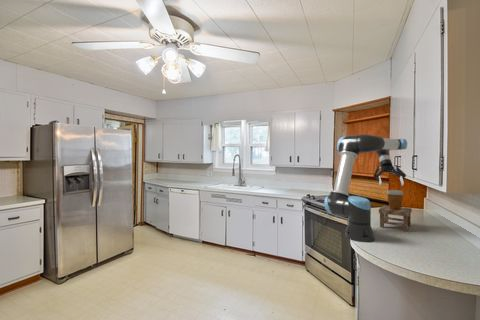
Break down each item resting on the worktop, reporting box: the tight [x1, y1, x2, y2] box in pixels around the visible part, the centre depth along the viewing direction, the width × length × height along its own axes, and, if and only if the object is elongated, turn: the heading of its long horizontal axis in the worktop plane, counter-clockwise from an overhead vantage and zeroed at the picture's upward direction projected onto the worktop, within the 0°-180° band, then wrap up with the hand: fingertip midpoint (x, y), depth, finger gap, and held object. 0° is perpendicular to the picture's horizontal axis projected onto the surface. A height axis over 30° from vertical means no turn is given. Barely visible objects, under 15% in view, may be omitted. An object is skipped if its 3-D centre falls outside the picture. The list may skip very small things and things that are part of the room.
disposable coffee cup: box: [386, 189, 404, 210], centre depth 158 cm, size 10×10×12 cm
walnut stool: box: [378, 205, 413, 233], centre depth 158 cm, size 16×16×12 cm
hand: (391, 184), depth 165 cm, fingers open, 13 cm apart
